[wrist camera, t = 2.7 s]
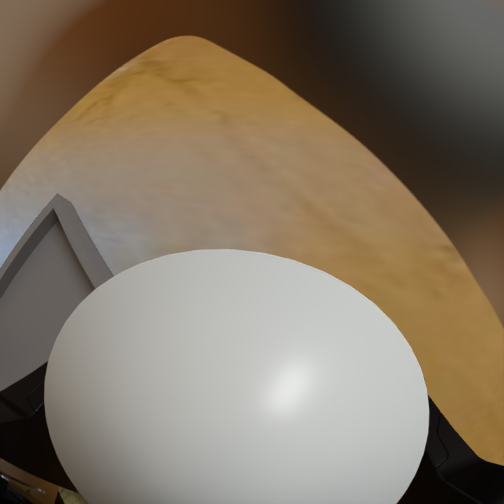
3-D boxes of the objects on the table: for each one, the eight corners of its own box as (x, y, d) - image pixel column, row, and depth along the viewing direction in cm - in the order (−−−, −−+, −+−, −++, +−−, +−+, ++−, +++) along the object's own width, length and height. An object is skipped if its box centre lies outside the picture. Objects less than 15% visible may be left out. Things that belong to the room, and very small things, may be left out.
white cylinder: (248, 414, 14) (221, 589, 2) (181, 343, 16) (6, 394, 3) (323, 350, 15) (476, 432, 2) (255, 278, 16) (237, 160, 4)
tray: (40, 458, 13) (28, 464, 11) (-24, 339, 16) (-36, 338, 14) (170, 353, 15) (159, 357, 13) (71, 202, 18) (57, 193, 16)
